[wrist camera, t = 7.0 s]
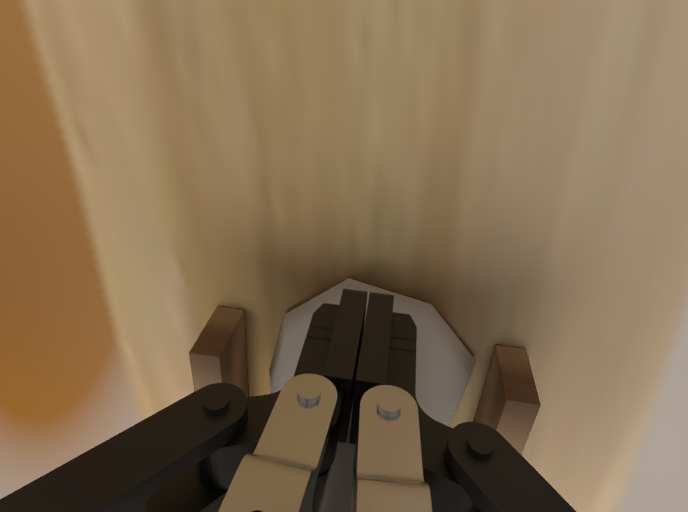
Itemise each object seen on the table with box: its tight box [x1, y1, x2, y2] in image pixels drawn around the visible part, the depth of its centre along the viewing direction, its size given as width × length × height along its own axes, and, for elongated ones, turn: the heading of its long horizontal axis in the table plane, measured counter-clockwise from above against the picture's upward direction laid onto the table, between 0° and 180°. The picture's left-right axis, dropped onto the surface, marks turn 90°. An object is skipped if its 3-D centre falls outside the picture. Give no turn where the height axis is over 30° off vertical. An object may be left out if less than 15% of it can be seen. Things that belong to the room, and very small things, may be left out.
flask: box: [269, 278, 476, 512], centre depth 14 cm, size 7×7×10 cm
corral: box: [189, 306, 540, 454], centre depth 19 cm, size 12×11×2 cm
